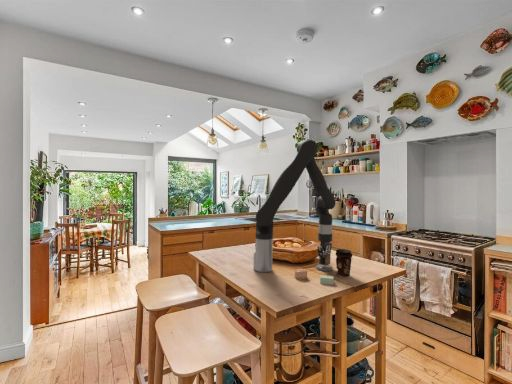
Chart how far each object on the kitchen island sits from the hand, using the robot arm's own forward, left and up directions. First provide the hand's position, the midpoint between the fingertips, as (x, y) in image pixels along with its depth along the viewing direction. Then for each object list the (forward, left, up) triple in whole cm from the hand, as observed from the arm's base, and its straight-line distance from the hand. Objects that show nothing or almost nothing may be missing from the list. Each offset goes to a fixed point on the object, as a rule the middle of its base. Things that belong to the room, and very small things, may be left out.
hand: (324, 262), depth 149 cm
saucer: (0, 0, -3) cm, 3 cm away
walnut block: (0, 0, -1) cm, 1 cm away
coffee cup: (+12, -4, -3) cm, 13 cm away
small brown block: (-3, -21, -3) cm, 21 cm away
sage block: (+10, -19, -4) cm, 22 cm away
